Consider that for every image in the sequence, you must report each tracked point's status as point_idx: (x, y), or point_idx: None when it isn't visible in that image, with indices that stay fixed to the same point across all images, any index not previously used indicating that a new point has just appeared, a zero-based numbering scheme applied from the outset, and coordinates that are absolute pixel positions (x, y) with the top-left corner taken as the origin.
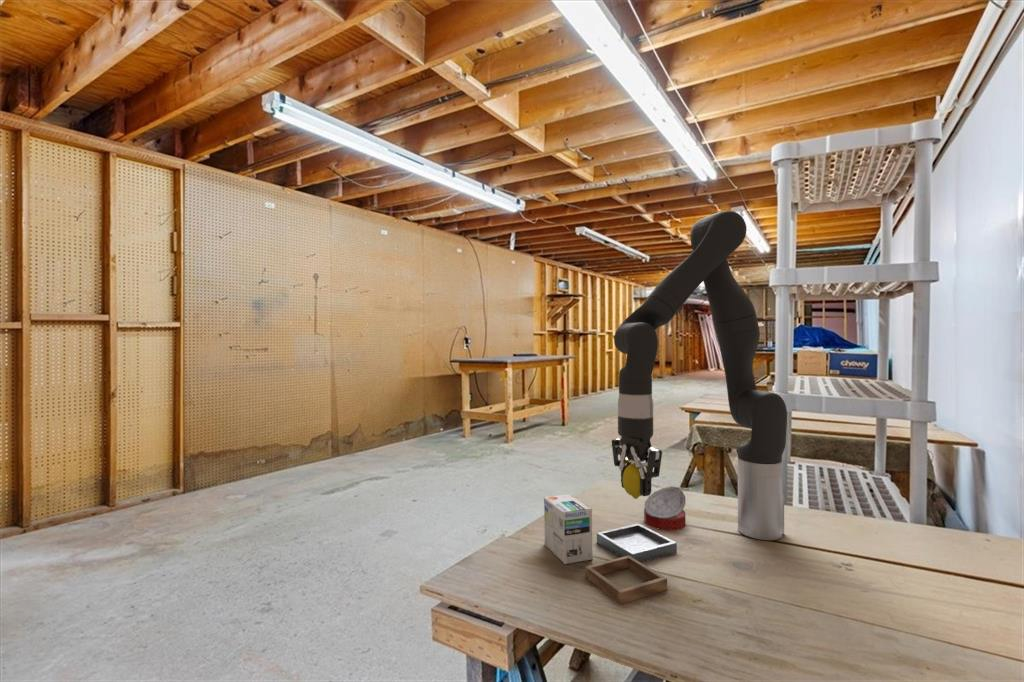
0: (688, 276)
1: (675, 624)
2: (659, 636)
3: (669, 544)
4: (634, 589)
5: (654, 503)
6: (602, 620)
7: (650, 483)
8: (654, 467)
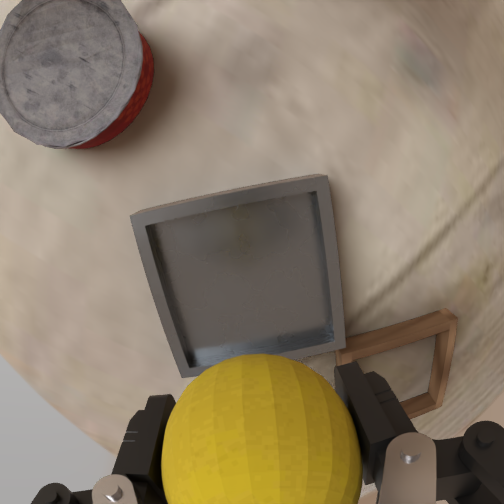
0: None
1: (497, 339)
2: (496, 366)
3: (331, 208)
4: (445, 384)
5: (38, 102)
6: (441, 420)
7: (406, 419)
8: (492, 489)
